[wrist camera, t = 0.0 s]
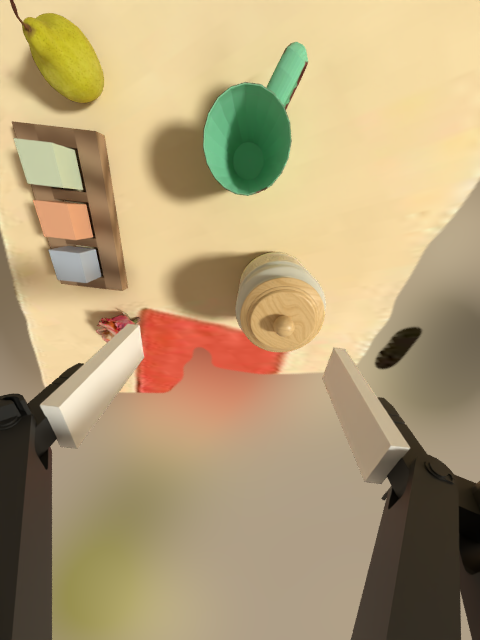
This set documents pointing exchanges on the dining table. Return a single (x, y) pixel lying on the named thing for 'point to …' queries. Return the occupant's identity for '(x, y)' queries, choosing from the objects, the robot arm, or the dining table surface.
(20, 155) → the button sage
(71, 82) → the fruit
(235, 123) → the mug
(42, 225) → the button terracotta
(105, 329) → the flower
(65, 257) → the button slate
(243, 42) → the dining table surface
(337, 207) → the dining table surface
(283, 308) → the jar
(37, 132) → the button board
